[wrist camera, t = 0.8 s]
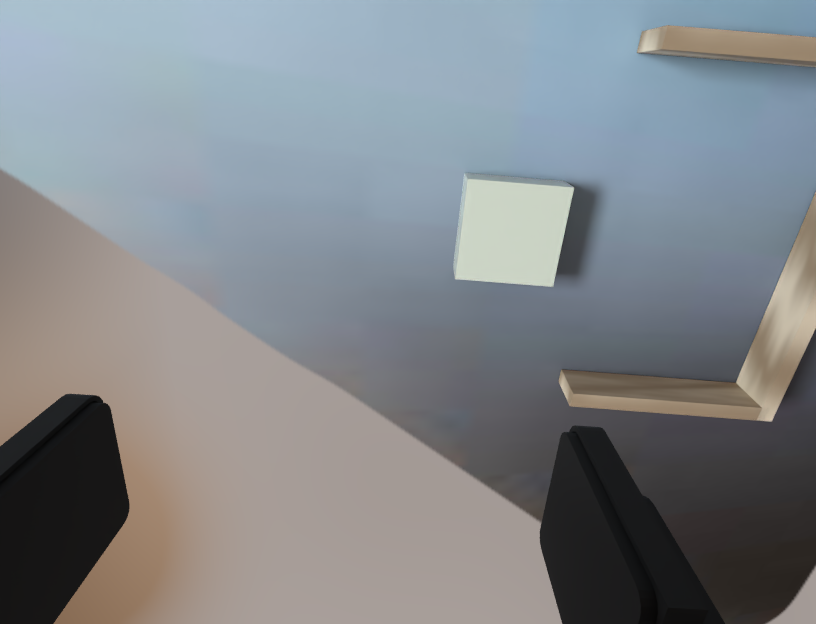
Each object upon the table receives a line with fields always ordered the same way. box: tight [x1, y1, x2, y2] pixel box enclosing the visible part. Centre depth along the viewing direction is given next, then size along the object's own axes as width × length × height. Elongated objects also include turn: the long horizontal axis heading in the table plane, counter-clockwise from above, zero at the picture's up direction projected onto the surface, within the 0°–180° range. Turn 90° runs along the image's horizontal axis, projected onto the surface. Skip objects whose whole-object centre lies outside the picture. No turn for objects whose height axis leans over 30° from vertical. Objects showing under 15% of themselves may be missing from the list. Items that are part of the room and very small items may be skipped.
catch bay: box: [559, 25, 816, 421], centre depth 29 cm, size 22×14×3 cm, turn 176°
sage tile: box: [453, 173, 574, 287], centre depth 30 cm, size 6×6×2 cm
